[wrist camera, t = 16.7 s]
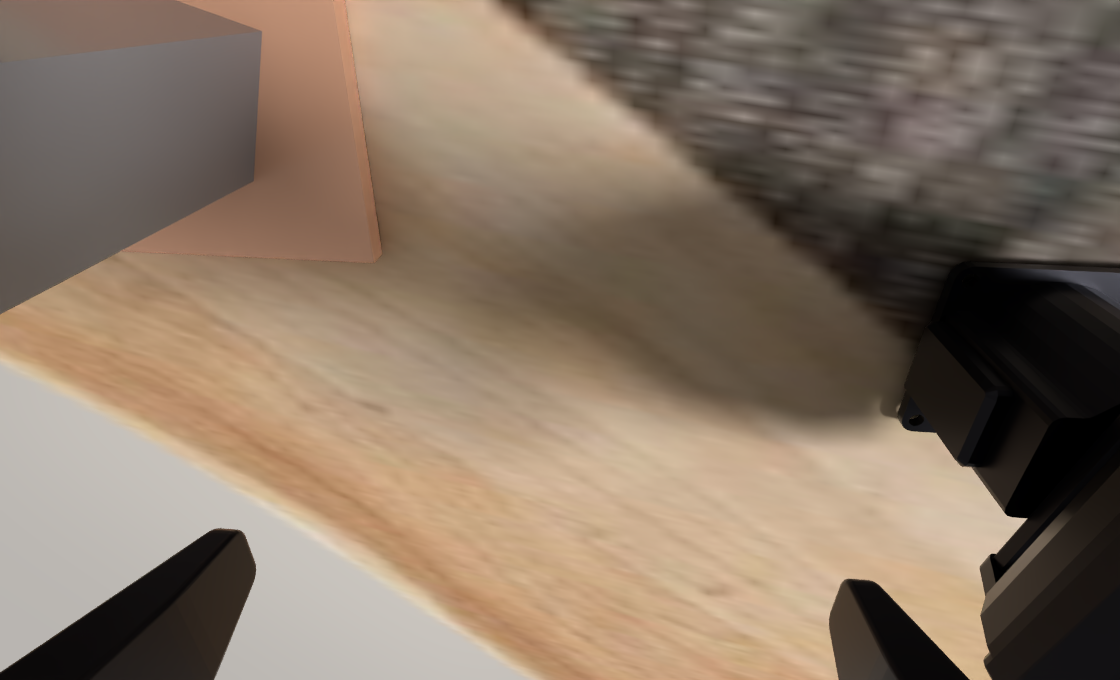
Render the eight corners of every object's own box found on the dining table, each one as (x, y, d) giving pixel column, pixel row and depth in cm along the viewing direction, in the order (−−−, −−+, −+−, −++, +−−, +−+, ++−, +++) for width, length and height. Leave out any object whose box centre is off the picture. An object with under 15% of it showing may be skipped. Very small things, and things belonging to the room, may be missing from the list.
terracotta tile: (323, -148, 15) (308, -154, 15) (382, 254, 21) (374, 263, 20) (-39, -146, 16) (-68, -153, 15) (112, 241, 22) (95, 250, 21)
